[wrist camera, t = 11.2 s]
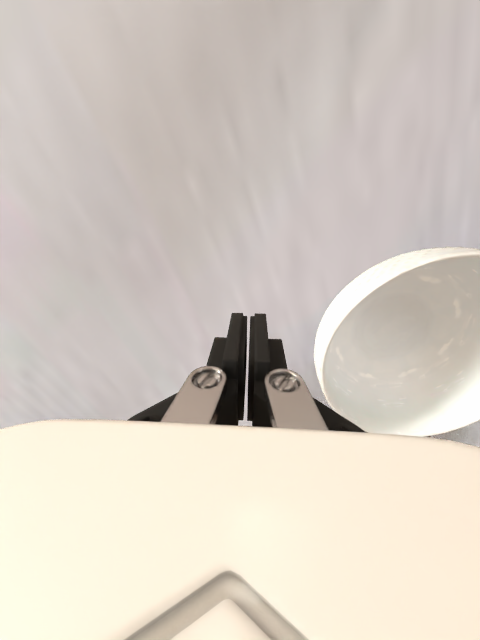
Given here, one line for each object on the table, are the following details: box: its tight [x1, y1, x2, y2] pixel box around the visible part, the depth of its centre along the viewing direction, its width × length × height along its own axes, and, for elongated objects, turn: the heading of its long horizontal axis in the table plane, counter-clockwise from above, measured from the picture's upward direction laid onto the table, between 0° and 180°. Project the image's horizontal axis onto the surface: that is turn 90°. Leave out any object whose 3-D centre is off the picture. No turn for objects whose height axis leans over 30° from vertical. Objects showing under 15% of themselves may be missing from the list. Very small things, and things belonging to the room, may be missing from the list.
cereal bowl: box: [314, 247, 480, 437], centre depth 21 cm, size 17×17×7 cm
